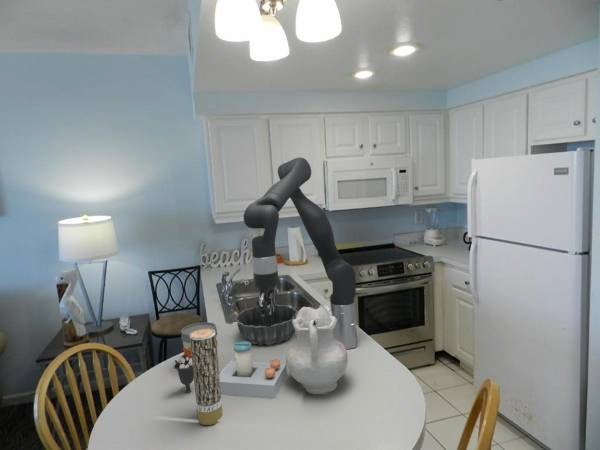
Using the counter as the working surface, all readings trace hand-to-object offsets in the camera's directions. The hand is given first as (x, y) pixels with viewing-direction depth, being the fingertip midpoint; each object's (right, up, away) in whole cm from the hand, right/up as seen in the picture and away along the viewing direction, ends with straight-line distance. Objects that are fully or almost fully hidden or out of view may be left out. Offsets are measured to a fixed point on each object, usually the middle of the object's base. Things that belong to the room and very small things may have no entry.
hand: (269, 324), depth 122 cm
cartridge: (-8, -20, +5) cm, 22 cm away
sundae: (-26, -23, +2) cm, 34 cm away
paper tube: (-16, -24, -12) cm, 31 cm away
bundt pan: (-4, -17, +45) cm, 48 cm away
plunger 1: (0, -18, -1) cm, 18 cm away
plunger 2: (+2, -17, +5) cm, 18 cm away
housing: (-6, -21, +4) cm, 22 cm away
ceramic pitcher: (+16, -20, +2) cm, 26 cm away
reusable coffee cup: (-25, -21, +19) cm, 38 cm away
